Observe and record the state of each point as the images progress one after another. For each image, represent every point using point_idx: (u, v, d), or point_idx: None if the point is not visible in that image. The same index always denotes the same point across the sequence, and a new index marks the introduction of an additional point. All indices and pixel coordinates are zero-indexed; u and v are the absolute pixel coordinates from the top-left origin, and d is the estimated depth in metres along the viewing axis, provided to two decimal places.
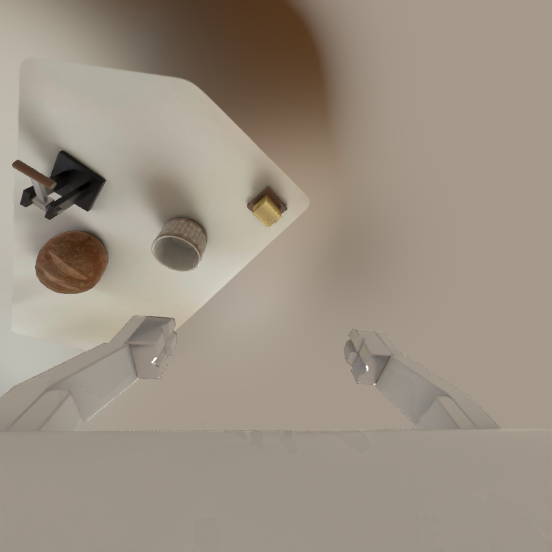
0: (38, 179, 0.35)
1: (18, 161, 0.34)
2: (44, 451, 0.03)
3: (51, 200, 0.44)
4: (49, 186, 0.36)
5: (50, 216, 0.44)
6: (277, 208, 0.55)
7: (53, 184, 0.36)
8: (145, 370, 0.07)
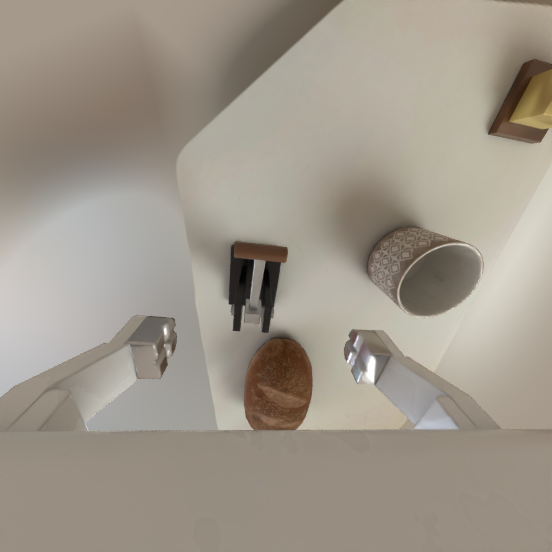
0: (270, 253, 0.19)
1: (237, 242, 0.19)
2: (44, 451, 0.03)
3: (260, 302, 0.28)
4: (286, 255, 0.19)
5: (268, 326, 0.28)
6: None
7: None
8: (145, 370, 0.07)
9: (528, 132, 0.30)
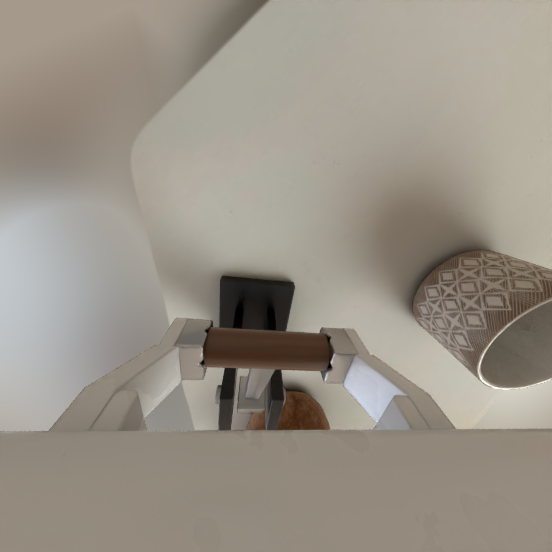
0: (289, 359, 0.08)
1: (213, 333, 0.08)
2: (44, 451, 0.03)
3: None
4: (326, 362, 0.08)
5: (277, 423, 0.17)
6: None
7: None
8: (190, 371, 0.08)
9: None
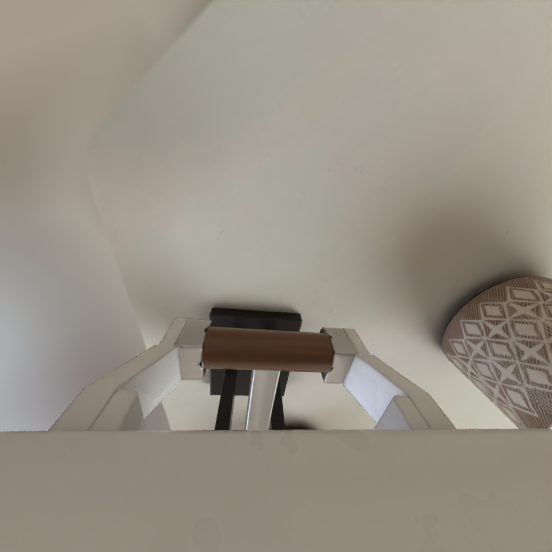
0: (292, 351, 0.08)
1: (213, 328, 0.08)
2: (44, 451, 0.03)
3: None
4: (330, 355, 0.08)
5: None
6: None
7: None
8: (189, 371, 0.08)
9: None
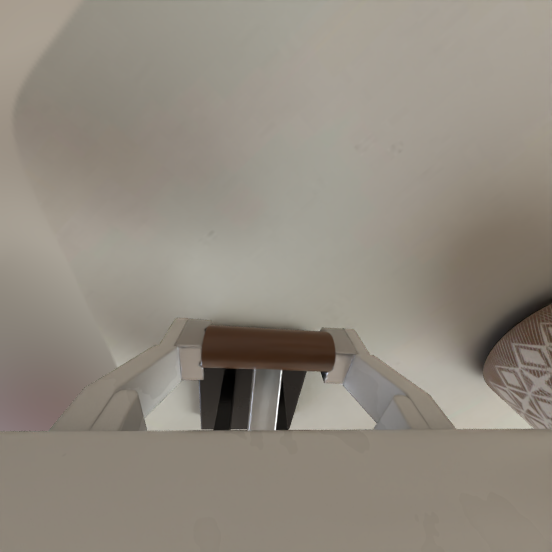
0: (293, 342, 0.08)
1: (214, 326, 0.08)
2: (44, 451, 0.03)
3: None
4: (332, 346, 0.08)
5: None
6: None
7: None
8: (189, 371, 0.08)
9: None
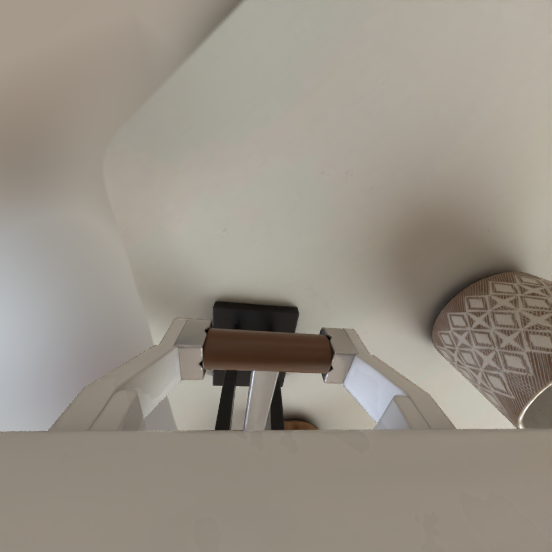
0: (291, 354, 0.08)
1: (213, 331, 0.08)
2: (44, 451, 0.03)
3: None
4: (329, 358, 0.08)
5: None
6: None
7: None
8: (189, 371, 0.08)
9: None
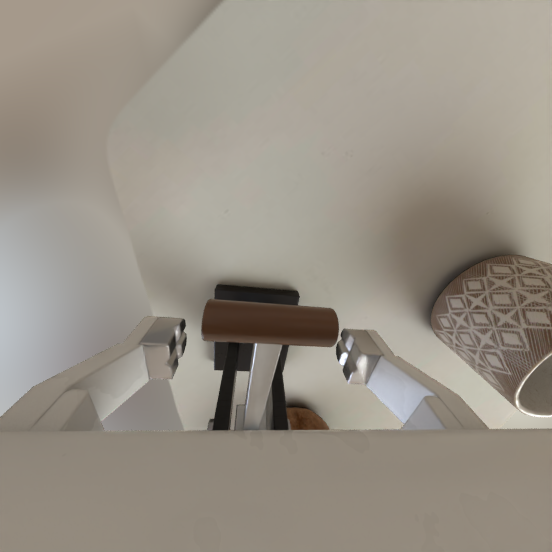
0: (296, 327, 0.07)
1: (213, 301, 0.08)
2: (44, 451, 0.03)
3: (264, 412, 0.15)
4: (335, 331, 0.08)
5: None
6: None
7: None
8: (157, 370, 0.07)
9: None
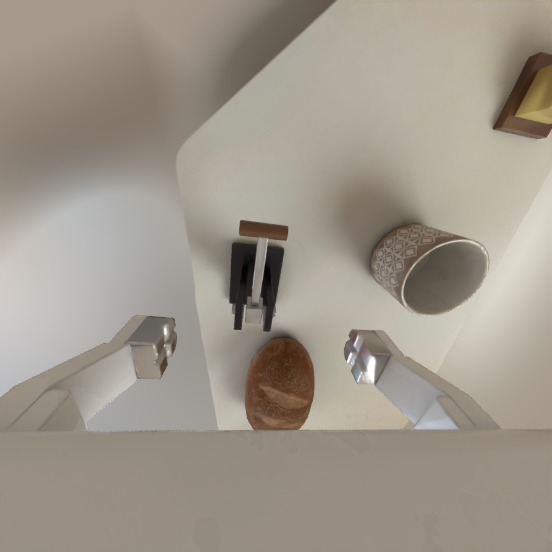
0: (272, 228, 0.21)
1: (242, 220, 0.21)
2: (44, 451, 0.03)
3: (261, 299, 0.28)
4: (286, 231, 0.21)
5: (270, 325, 0.27)
6: None
7: (287, 228, 0.21)
8: (145, 370, 0.07)
9: (534, 127, 0.29)
